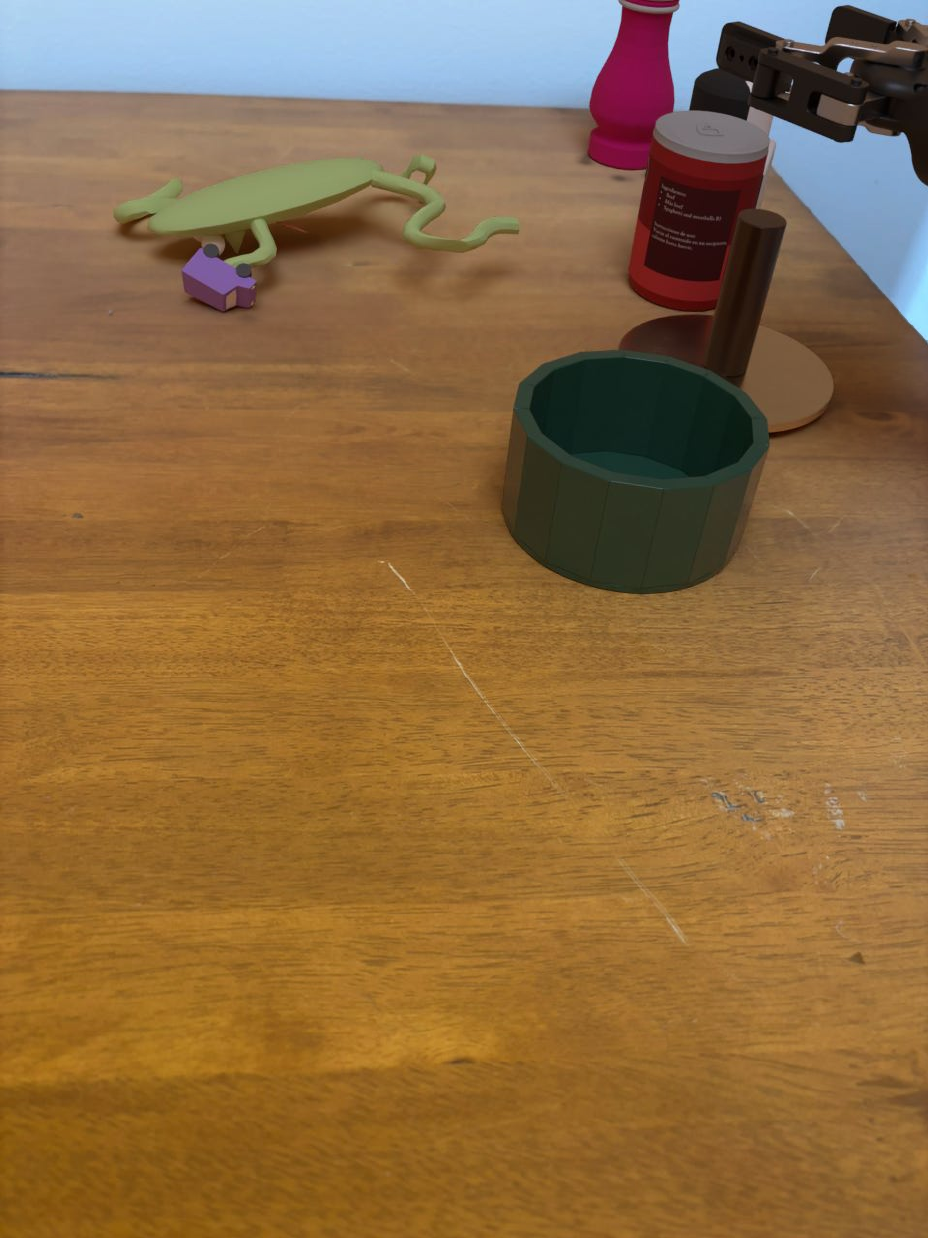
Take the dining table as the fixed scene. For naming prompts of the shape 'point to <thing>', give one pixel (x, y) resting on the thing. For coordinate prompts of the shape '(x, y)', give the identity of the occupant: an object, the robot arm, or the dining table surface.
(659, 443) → the tin
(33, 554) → the dining table surface
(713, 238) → the canned food
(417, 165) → the figurine
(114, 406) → the dining table surface
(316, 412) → the dining table surface
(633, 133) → the pepper mill
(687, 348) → the tin lid
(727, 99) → the medicine bottle
